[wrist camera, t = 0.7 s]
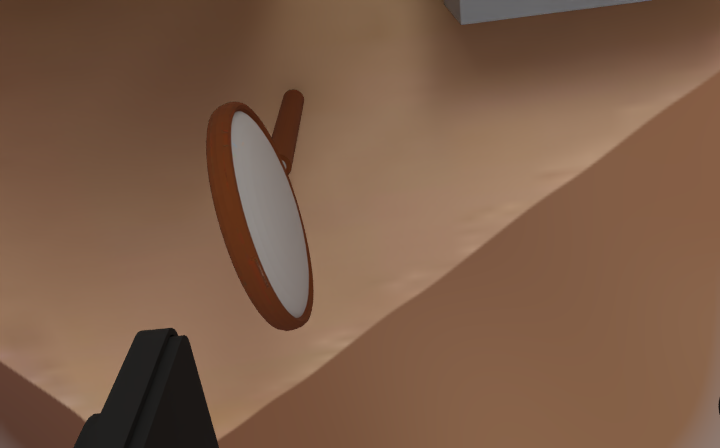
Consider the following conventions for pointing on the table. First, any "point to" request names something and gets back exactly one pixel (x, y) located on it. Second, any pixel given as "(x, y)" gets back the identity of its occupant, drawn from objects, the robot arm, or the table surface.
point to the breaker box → (518, 8)
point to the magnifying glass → (262, 208)
